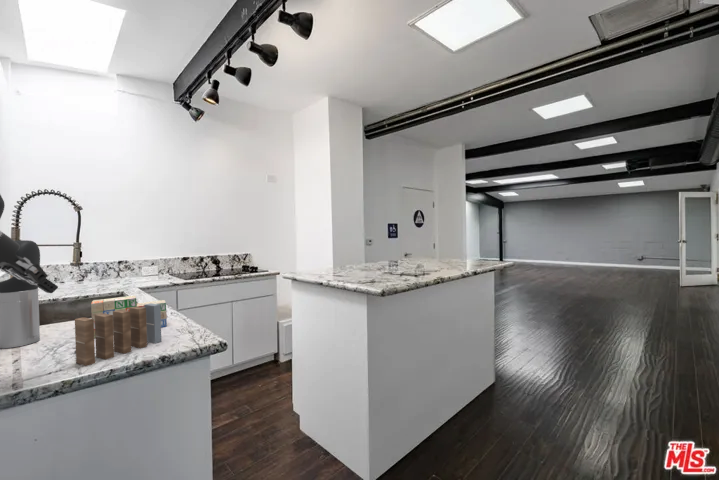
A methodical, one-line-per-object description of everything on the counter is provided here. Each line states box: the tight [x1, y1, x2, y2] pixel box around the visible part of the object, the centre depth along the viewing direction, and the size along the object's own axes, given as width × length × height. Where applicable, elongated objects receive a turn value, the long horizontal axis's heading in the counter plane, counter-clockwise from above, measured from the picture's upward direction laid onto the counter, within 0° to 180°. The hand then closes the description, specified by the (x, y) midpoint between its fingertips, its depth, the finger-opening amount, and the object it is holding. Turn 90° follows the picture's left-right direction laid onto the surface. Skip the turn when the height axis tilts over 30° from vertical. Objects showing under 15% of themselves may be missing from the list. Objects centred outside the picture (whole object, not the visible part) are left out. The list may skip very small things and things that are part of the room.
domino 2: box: [94, 313, 115, 360], centre depth 88 cm, size 2×5×12 cm, turn 65°
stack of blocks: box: [90, 295, 168, 340], centre depth 112 cm, size 21×6×12 cm, turn 127°
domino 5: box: [144, 303, 162, 344], centre depth 100 cm, size 2×5×12 cm, turn 65°
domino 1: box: [74, 316, 96, 367], centre depth 84 cm, size 2×5×12 cm, turn 65°
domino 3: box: [113, 310, 132, 355], centre depth 92 cm, size 2×5×12 cm, turn 65°
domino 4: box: [129, 306, 148, 349], centre depth 96 cm, size 2×5×12 cm, turn 65°
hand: (53, 290), depth 79 cm, fingers closed
